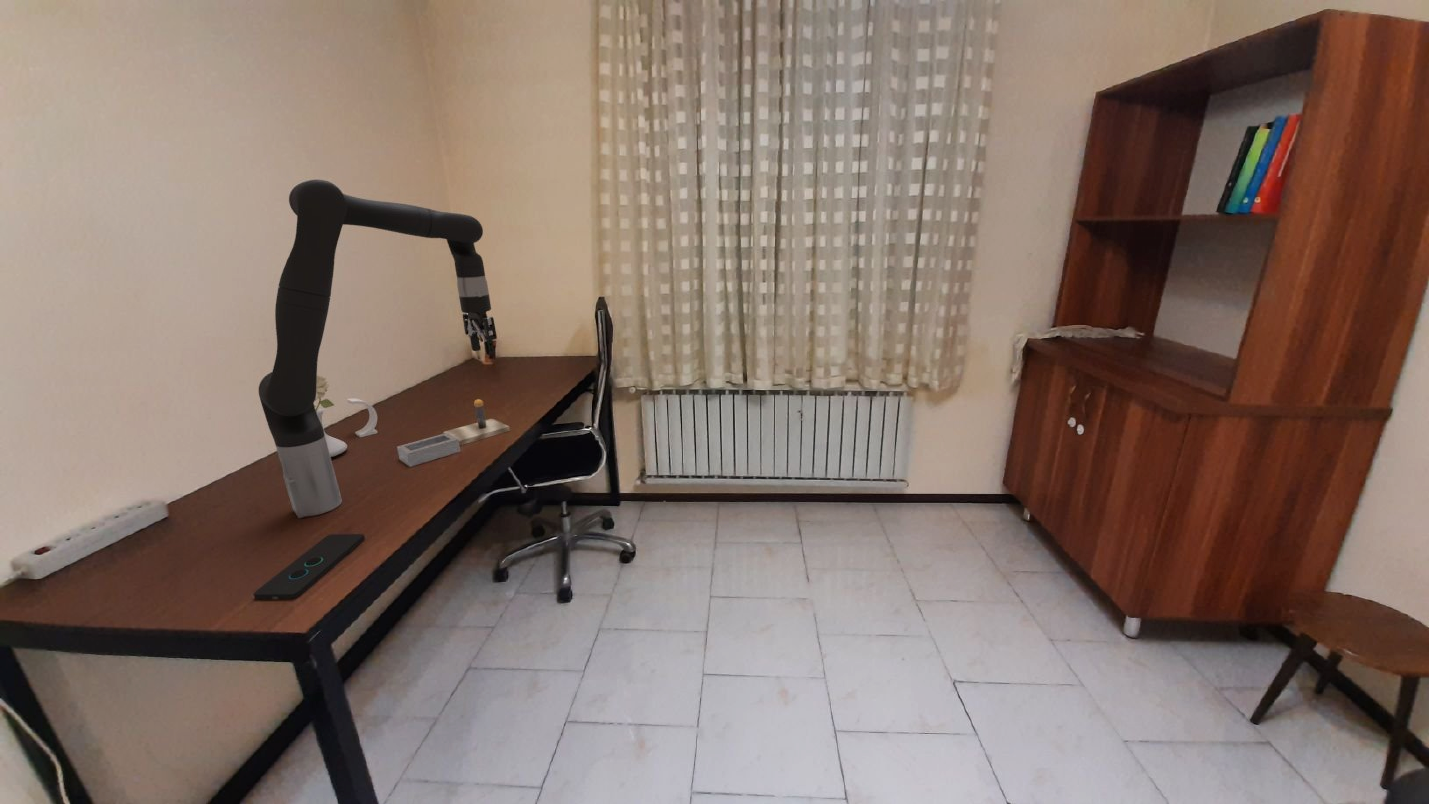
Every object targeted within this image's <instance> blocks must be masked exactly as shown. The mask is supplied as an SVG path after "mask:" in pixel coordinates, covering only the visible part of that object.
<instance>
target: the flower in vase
mask: <svg viewBox="0 0 1429 804" xmlns="http://www.w3.org/2000/svg"><path fill="white" fill-rule="evenodd" d="M328 387H329V384H328V381H327V380H326V377H324V376H323V375H318V374H317V383H316V398H315V401H314V402H316V401H317V400H318V401H319V402H318V404H317V405H315V404H314V407H315V410H316V413H317V416H318V418H319V420H320V422H321V424H322V427H323V430H324V434H325V438H326V442H327V446H328V449H329V453H330V457H331V458H333V457H335V456H338V455H340V454H342V453H343V452H345V451H346V450H347V448H348V445H347V444H346V442H344V440H341V439H338V438H335V437H333V436H330V435H328V433H326V432H325V429H324V426H323V415H324V413H325V409H327V408H330V407H334V406H335V404H334V403H333V402H332V401H331V400H330V399H328V398H324V399H322V398H323V397H324V396H325V395H326V393H327V391H328ZM320 405H321V406H322V408H319V406H320Z"/></svg>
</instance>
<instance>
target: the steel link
mask: <svg viewBox="0 0 1429 804" xmlns="http://www.w3.org/2000/svg"><path fill="white" fill-rule="evenodd" d="M460 446H461V445H459V440H458V439H457V438H455V437H454V436H452V435H450V434H448V433H442V434H437V435H434V436H431V437H428V438H427V437H426V438H424V439H420V440H416V441H412V442H409V443H405V444H402V445H398V446H397V447H396V449H397V453H398V457H399V458H398V459H399V460H400V462H402V463H403V464H404V465H406V466H408V467H409V468H412V467H414V466H418V465H421V464H424V463H428V462H431V461H434V460H438V459H441V458H444V457H447V456H452V455H454V454H457V453H461V448H460Z"/></svg>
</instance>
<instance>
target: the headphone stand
mask: <svg viewBox="0 0 1429 804" xmlns="http://www.w3.org/2000/svg"><path fill="white" fill-rule="evenodd" d="M346 399H347V402H348V403H349V404H352V405H357V404H358V405H362V406H363V405H364V407H366V409H367V411H368V412H369V413H368V415H369V418H368V421H367V423H366V425H364V427H363V428H361V429H359V430H357V431H355V433H354V434H355V436H357V437H359V438H364V437H367V436H371V435H375V434H378V430H377V429H375V427H376V426H377V423H378V414H377V410H376V409H375V408H374V407H373V406H372V405H371V404H369V403H367V402H366V401H364V400H362V399H359V398H346Z"/></svg>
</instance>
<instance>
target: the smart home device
mask: <svg viewBox="0 0 1429 804" xmlns="http://www.w3.org/2000/svg"><path fill="white" fill-rule="evenodd" d="M365 540H366V538H365V534H363V533H362V534H361V533H357V534H356V533H344V534H342V533H340V534H339V533H337V534H335V533H333V534H329V535H326V536H325V537H323V538H322V539H321V540H320V541H318V542H317V543H315V544H314V545H313V546H312V547H311V548H309V549H308V550H307V551H305V552H304V553H303V554H302V555H300V556H299V557H297V558H296V559H295V560H294V561H293V562H291V563H290V564H288V565H287V566H286V567H284V568H283V569H282V570H281V571H280V572H278V573H277V574H276V575H274V576H273V577H272V578H271V579H269V580H268V581H267V582H266V583H263V585H262V586H261V587H259V588H258V589H256V590H255V591H254V592H253V597H254V599H255V601H256V600H257V601H259V600H263V601H265V600H267V601H268V600H269V601H270V600H275V601H276V600H296V599H299V598H300V597H301V596H302V595H304V594H305V593H307V591H308V590H310V588H311V587H313V586H314V585H315V584H316V583H317V582H319V580H321V579H322V578H323V577H324V576H326V575H327V574H329V572H330V571H331V570H333V568H335V567H336V566H337V565H338V564H339V563H341V561H343V560H344V559H345V558H346V557H347V556H349V554H351V553H352V552H353V551H354V550H355V549H356V548H358V547H359V546H360V545H362V543H363V542H364V541H365Z"/></svg>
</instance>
